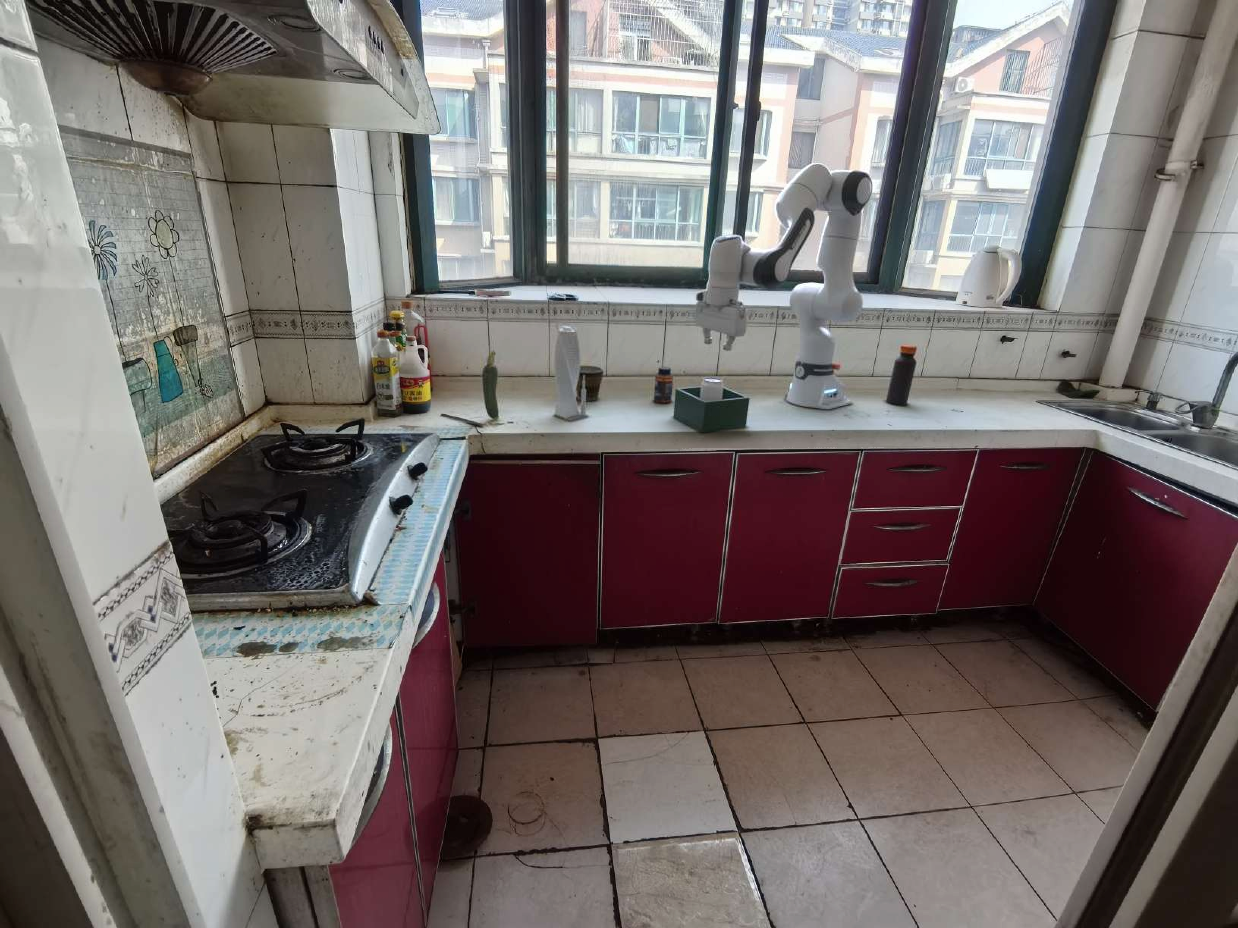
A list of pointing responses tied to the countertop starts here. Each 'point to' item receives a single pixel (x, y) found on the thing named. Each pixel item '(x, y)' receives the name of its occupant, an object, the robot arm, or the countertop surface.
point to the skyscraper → (568, 373)
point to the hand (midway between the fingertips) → (717, 347)
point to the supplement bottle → (663, 385)
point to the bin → (711, 410)
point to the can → (711, 389)
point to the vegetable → (490, 387)
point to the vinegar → (902, 376)
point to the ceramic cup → (589, 382)
